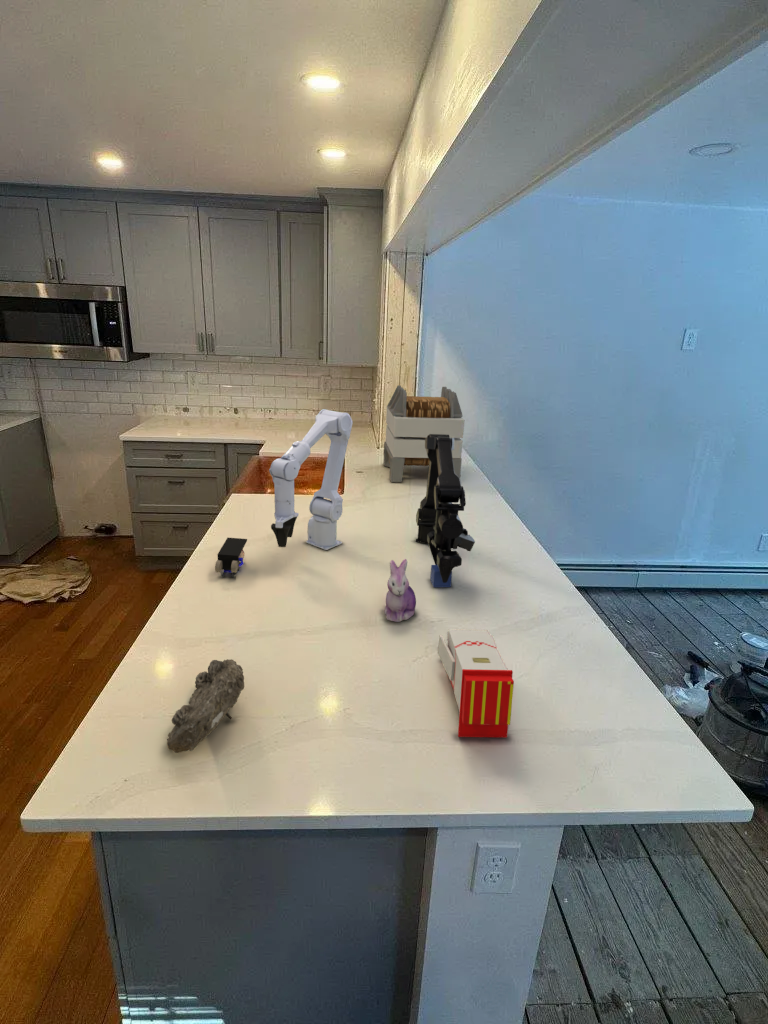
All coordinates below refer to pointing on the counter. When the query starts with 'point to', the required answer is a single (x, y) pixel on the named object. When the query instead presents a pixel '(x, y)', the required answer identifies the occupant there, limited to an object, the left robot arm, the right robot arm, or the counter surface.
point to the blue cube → (438, 578)
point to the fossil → (206, 705)
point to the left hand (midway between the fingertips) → (285, 541)
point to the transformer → (420, 429)
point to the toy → (478, 682)
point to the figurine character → (230, 556)
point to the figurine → (399, 594)
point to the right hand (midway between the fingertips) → (441, 575)
